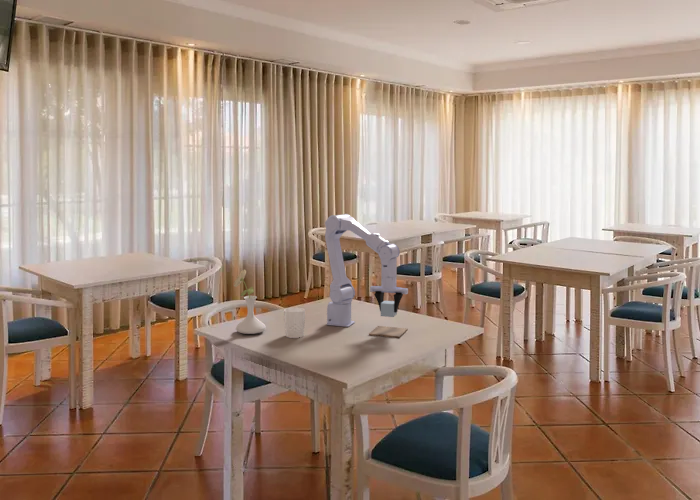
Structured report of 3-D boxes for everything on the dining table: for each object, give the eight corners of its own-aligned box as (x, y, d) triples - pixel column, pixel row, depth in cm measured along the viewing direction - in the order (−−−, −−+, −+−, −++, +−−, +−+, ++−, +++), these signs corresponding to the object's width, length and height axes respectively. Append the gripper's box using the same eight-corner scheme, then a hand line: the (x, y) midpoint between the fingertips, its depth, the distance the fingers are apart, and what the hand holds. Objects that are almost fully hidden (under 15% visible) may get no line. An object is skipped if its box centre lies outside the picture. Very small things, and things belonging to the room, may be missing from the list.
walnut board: (368, 335, 238) (368, 333, 238) (378, 327, 250) (378, 325, 249) (399, 338, 234) (399, 336, 234) (407, 329, 246) (407, 328, 245)
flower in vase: (250, 327, 250) (249, 264, 247) (272, 331, 244) (271, 267, 240) (226, 334, 240) (224, 269, 236) (248, 339, 233) (246, 272, 230)
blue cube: (380, 316, 240) (380, 303, 239) (384, 313, 244) (384, 300, 244) (393, 317, 238) (393, 304, 237) (396, 314, 243) (397, 301, 242)
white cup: (308, 334, 240) (308, 308, 239) (300, 339, 233) (299, 313, 231) (289, 332, 243) (289, 306, 241) (280, 337, 235) (280, 311, 234)
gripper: (367, 276, 238) (367, 312, 239) (404, 279, 233) (404, 315, 235) (373, 273, 244) (372, 308, 246) (409, 275, 239) (409, 311, 241)
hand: (388, 311), depth 241 cm, fingers closed on blue cube, 5 cm apart
